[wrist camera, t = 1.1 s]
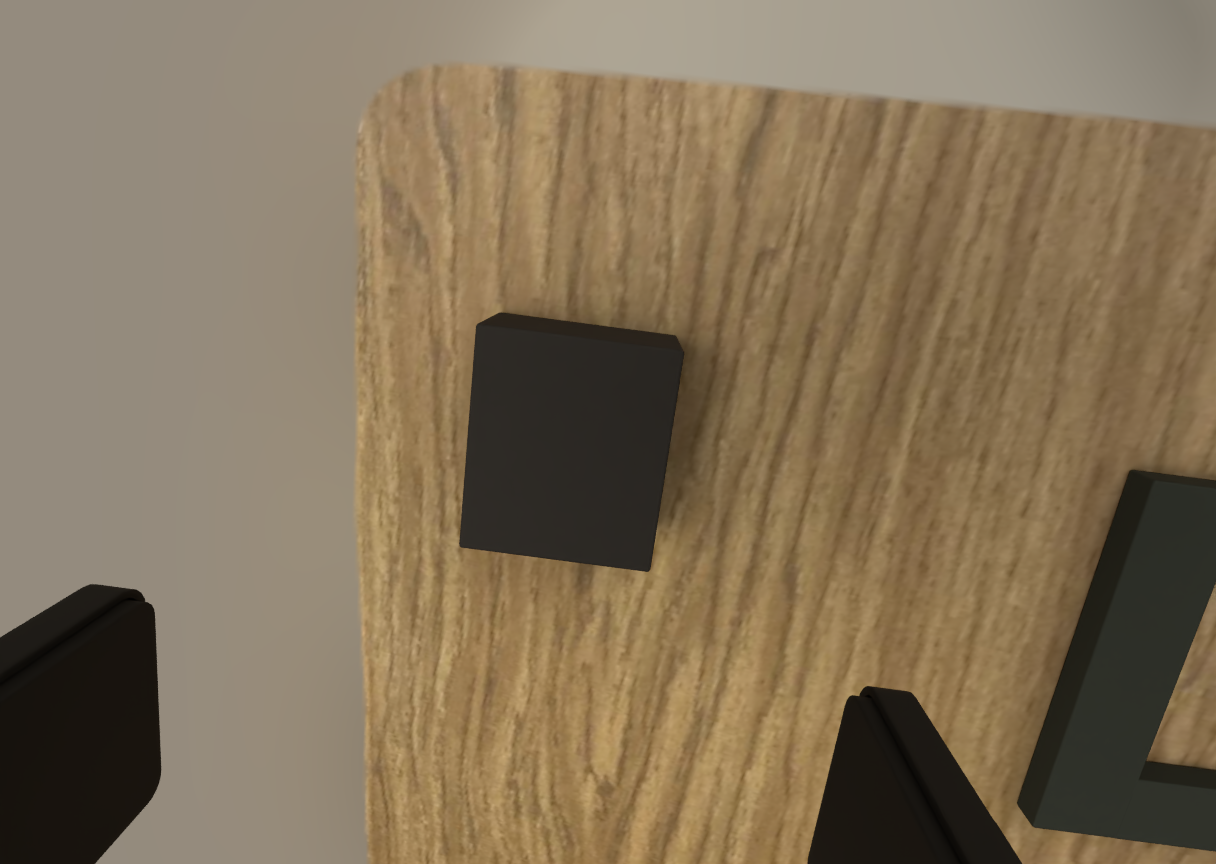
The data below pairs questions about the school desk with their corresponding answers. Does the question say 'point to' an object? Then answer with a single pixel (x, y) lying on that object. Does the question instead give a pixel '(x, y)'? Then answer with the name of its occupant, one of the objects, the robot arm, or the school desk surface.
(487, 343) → the black block
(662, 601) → the school desk surface
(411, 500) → the school desk surface
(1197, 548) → the frame pad
